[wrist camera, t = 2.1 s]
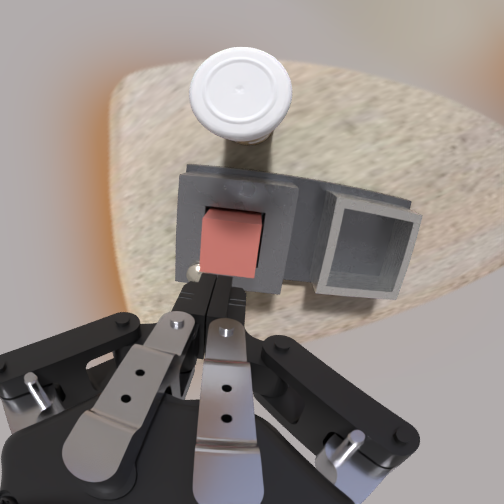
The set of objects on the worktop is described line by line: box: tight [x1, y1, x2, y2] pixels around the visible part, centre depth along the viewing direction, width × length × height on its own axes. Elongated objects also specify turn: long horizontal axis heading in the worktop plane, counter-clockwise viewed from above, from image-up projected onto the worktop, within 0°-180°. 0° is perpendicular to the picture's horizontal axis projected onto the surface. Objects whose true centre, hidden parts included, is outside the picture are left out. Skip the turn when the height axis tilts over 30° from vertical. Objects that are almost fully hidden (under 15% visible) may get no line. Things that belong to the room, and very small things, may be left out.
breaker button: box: [199, 206, 262, 278], centre depth 21 cm, size 4×4×5 cm
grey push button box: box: [175, 164, 423, 300], centre depth 23 cm, size 22×10×6 cm, turn 83°
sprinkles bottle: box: [189, 47, 292, 146], centre depth 16 cm, size 5×5×14 cm
